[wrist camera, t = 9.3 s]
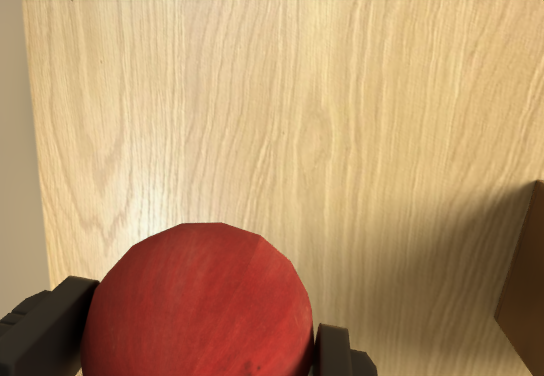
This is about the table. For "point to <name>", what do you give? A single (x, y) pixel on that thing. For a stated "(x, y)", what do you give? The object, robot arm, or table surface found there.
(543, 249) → the chest
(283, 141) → the table surface
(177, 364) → the red round fruit
